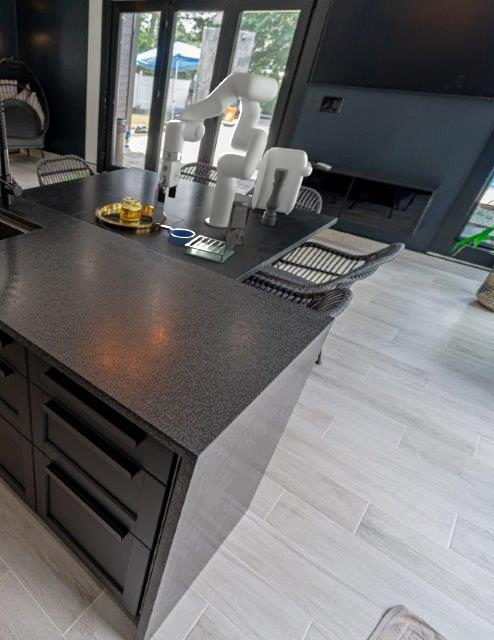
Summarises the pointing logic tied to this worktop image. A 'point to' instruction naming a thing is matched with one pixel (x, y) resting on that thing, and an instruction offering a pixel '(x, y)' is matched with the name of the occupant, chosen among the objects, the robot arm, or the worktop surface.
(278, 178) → the candle holder
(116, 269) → the worktop surface
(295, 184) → the toaster
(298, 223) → the worktop surface
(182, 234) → the pan
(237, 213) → the coffee box
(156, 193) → the candy bar box
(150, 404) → the worktop surface
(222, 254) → the dish rack
